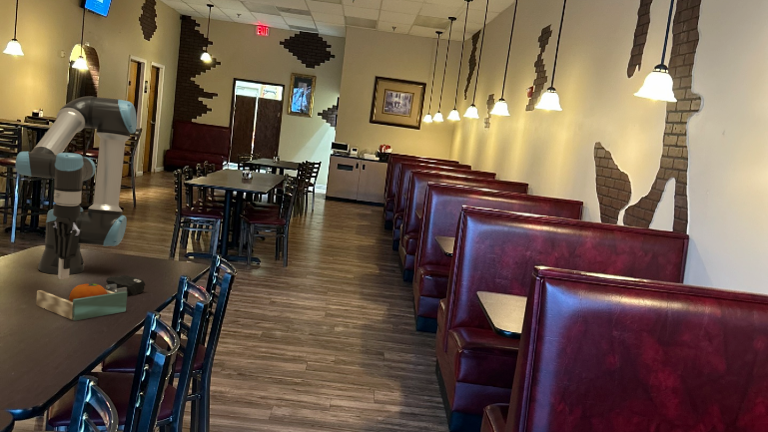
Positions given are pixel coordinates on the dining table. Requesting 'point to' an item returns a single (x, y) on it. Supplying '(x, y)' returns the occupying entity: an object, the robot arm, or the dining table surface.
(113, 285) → the dark grey bracket
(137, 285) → the rock
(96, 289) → the fruit
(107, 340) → the dining table surface
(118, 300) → the bay
